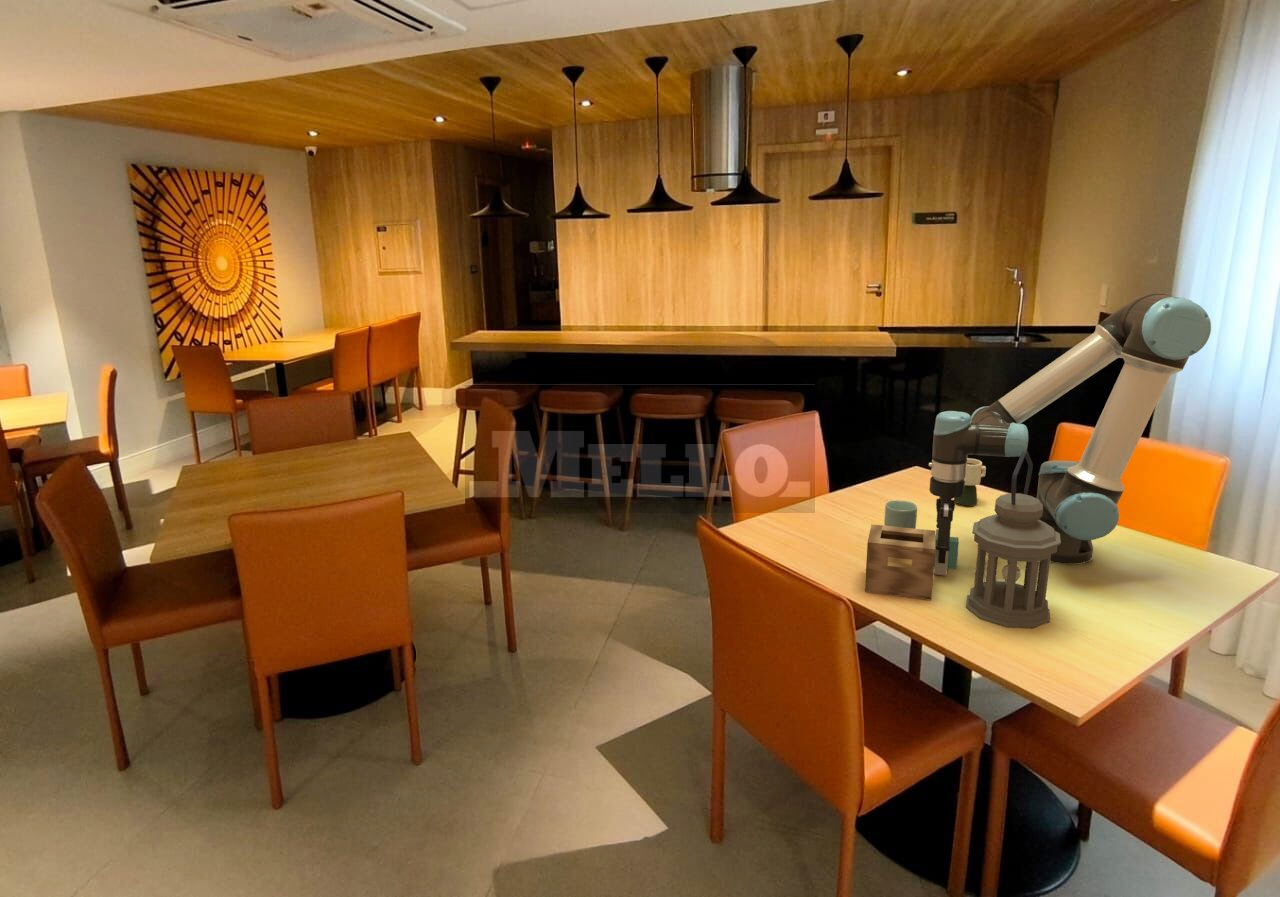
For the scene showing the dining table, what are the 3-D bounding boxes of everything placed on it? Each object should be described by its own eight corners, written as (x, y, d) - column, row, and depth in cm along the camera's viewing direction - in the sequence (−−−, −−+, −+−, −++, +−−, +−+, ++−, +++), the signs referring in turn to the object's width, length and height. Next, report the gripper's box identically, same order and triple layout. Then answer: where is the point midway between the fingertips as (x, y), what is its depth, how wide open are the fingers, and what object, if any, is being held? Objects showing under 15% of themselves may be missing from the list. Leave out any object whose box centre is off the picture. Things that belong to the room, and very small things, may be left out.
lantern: (973, 584, 171) (988, 436, 161) (1056, 602, 162) (1077, 446, 152) (955, 615, 158) (970, 455, 148) (1045, 637, 148) (1067, 468, 139)
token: (955, 564, 181) (958, 537, 180) (956, 569, 179) (958, 542, 177) (925, 560, 184) (927, 534, 182) (924, 565, 181) (926, 539, 179)
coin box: (931, 578, 174) (935, 530, 171) (931, 600, 164) (935, 549, 161) (868, 571, 179) (871, 524, 176) (864, 591, 169) (867, 542, 166)
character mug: (975, 498, 224) (979, 456, 221) (989, 506, 217) (993, 463, 214) (941, 501, 223) (944, 459, 219) (954, 509, 216) (958, 466, 212)
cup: (916, 548, 191) (919, 511, 188) (884, 546, 193) (887, 510, 190) (912, 536, 198) (915, 500, 196) (881, 535, 200) (883, 499, 197)
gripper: (930, 462, 187) (924, 543, 193) (930, 492, 166) (922, 582, 172) (963, 464, 184) (955, 547, 190) (967, 495, 163) (958, 587, 169)
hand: (940, 564), depth 181 cm, fingers open, 11 cm apart
